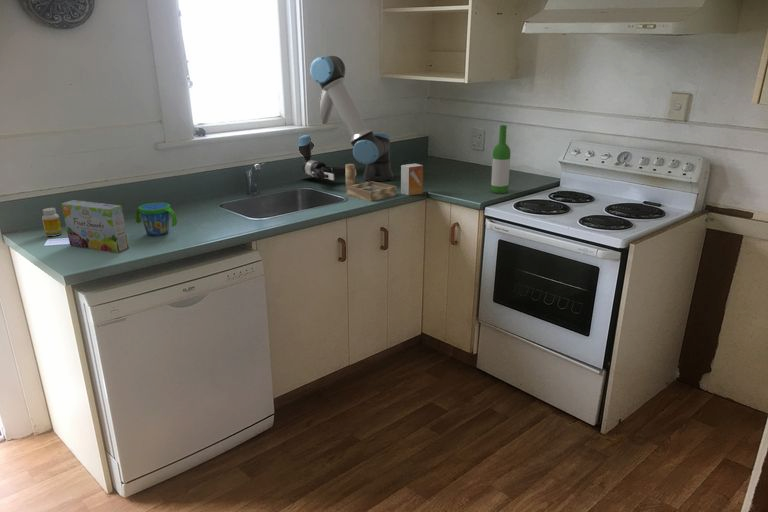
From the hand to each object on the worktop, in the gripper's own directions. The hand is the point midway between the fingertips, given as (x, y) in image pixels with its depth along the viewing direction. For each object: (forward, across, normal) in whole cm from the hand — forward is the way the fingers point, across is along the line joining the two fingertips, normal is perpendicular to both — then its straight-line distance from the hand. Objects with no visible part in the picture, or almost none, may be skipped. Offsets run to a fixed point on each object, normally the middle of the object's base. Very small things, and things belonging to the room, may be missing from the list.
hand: (344, 175), depth 275 cm
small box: (+28, -16, -7) cm, 33 cm away
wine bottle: (+55, -46, -7) cm, 72 cm away
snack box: (+6, +114, -7) cm, 115 cm away
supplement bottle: (-20, +120, -7) cm, 122 cm away
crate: (+17, -1, -7) cm, 19 cm away
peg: (+3, -1, -7) cm, 8 cm away
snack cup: (+5, +93, -7) cm, 94 cm away
